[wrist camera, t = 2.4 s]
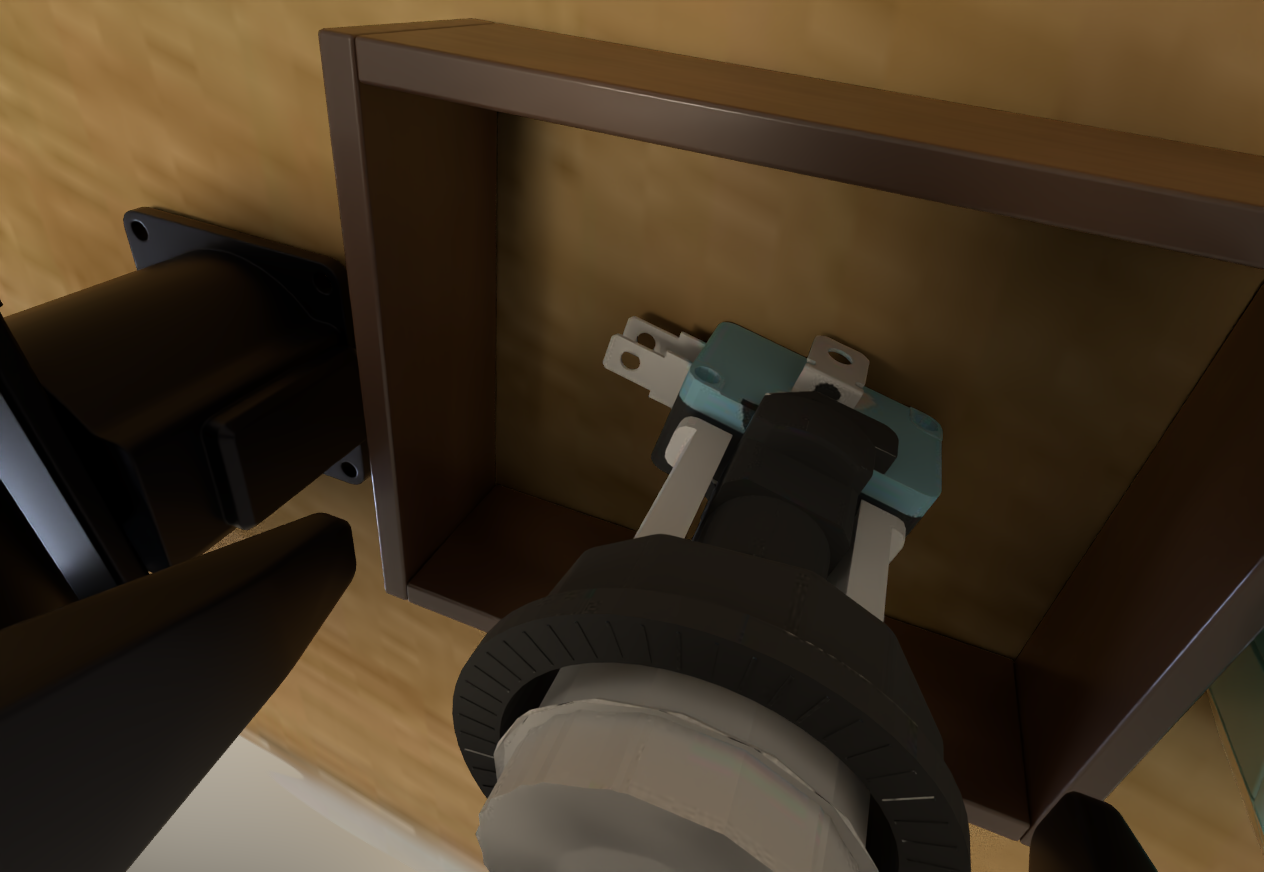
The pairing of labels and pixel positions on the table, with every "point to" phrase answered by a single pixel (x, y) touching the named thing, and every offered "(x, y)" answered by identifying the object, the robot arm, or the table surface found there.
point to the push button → (727, 643)
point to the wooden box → (844, 152)
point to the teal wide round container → (1244, 727)
